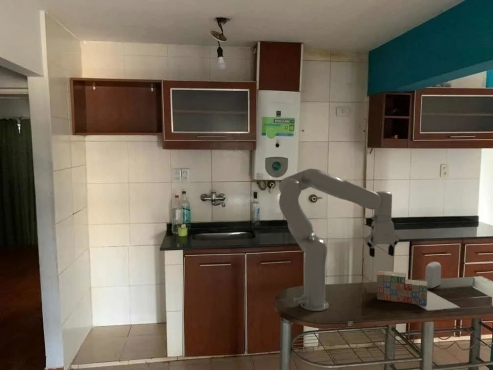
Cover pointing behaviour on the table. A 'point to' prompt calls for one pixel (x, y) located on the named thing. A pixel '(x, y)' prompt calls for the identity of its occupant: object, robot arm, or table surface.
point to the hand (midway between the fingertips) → (381, 255)
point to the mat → (437, 303)
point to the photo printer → (433, 274)
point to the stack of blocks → (400, 288)
